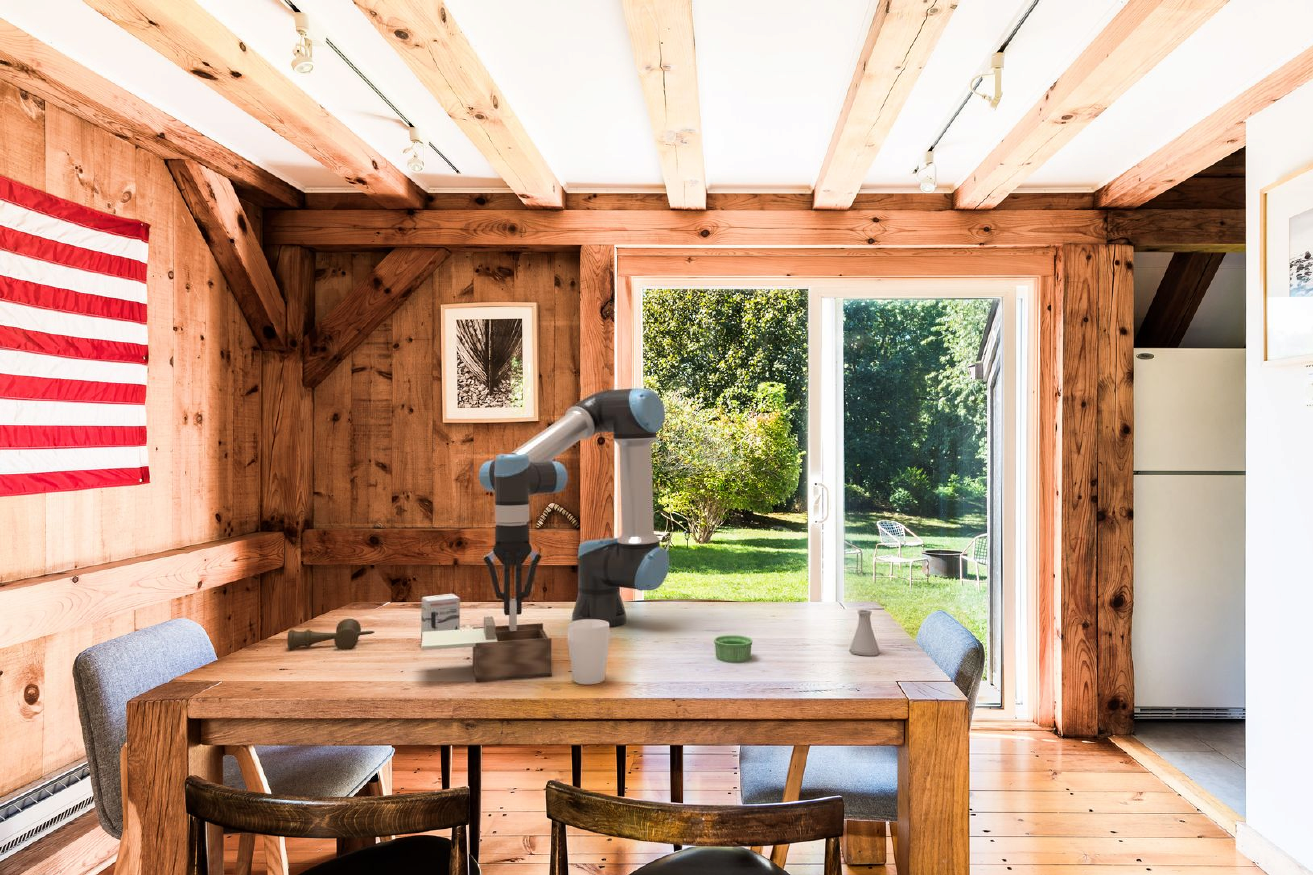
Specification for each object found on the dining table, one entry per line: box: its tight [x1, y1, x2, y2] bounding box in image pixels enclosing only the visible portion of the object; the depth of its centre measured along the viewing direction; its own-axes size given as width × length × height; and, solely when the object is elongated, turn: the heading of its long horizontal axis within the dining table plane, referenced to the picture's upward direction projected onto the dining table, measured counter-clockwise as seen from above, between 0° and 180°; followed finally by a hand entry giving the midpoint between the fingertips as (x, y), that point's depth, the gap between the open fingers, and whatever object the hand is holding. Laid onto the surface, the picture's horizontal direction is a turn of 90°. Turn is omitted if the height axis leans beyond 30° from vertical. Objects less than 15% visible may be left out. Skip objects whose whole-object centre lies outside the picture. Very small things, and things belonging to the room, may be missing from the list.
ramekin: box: [713, 634, 753, 663], centre depth 190 cm, size 9×9×4 cm
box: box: [472, 622, 553, 683], centre depth 180 cm, size 16×15×8 cm
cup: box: [567, 619, 611, 686], centre depth 172 cm, size 9×9×12 cm
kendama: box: [286, 618, 375, 651], centre depth 201 cm, size 6×10×20 cm
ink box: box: [420, 593, 461, 645], centre depth 203 cm, size 8×5×12 cm, turn 123°
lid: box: [421, 616, 497, 651], centre depth 177 cm, size 16×13×4 cm
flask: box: [849, 609, 881, 657], centre depth 194 cm, size 7×7×10 cm
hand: (512, 629), depth 181 cm, fingers closed
